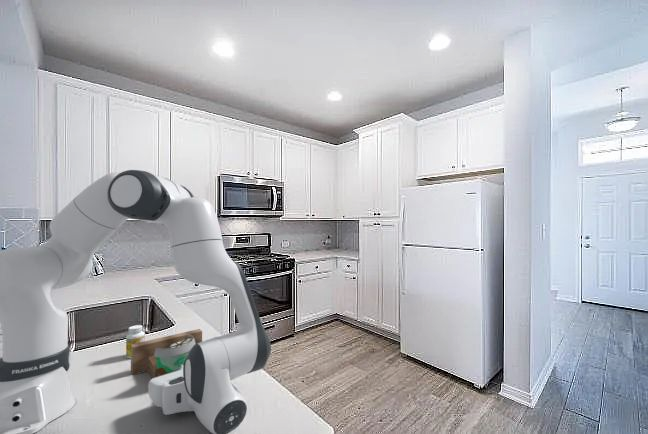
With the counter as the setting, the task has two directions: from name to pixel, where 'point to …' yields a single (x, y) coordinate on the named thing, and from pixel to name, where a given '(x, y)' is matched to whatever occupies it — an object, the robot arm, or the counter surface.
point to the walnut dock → (145, 350)
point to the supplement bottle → (134, 338)
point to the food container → (173, 355)
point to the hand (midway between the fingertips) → (186, 366)
